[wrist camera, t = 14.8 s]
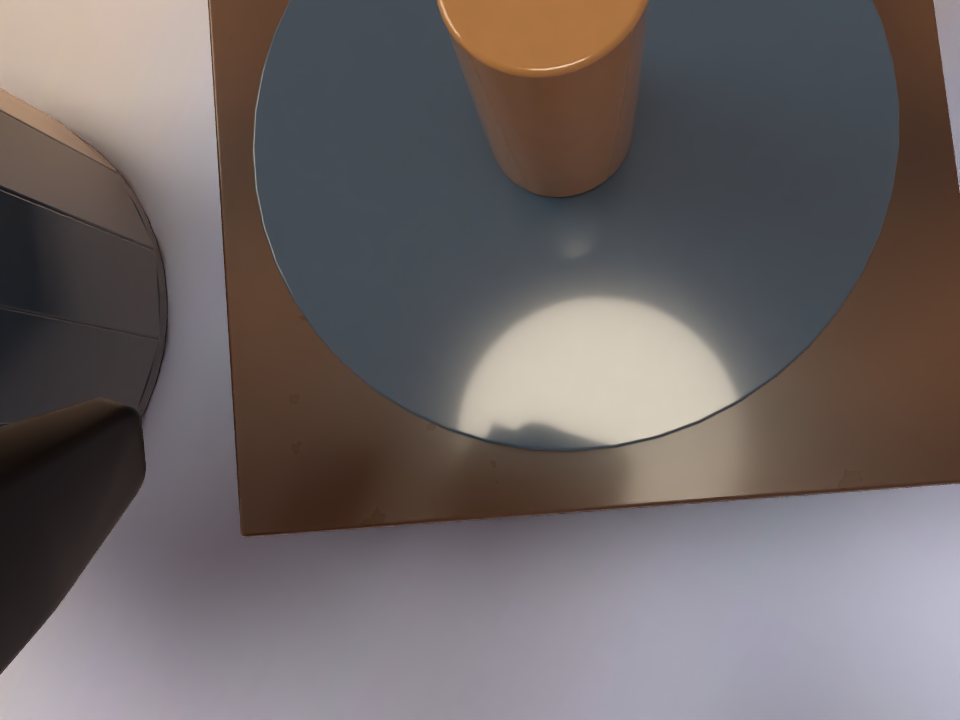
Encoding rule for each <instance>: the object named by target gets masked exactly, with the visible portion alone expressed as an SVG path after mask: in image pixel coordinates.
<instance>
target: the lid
mask: <svg viewBox="0 0 960 720" xmlns="http://www.w3.org/2000/svg"><path fill="white" fill-rule="evenodd" d="M252 151H253V166H254V180H255V191H256V196H257V201H258V206H259V211H260V216H261V221H262V226H263V229H264V232H265V235H266V238H267V241H268V244H269V247H270V250H271V253H272V256H273V259H274V261H275V264H276V267H277V269H278V271H279V273H280V275H281V277H282V279H283V281H284V283H285V285H286V287H287V289H288V291H289V293H290V295H291V297H292V299H293V301H294V302H295V304H296V305H297V306H298V308H299V309H300V311H301V312H302V314H303V315H304V317H305V318H306V320H307V321H308V323H309V324H310V326H311V327H312V329H313V330H314V331H315V333H316V334H317V335H318V336H319V338H320V339H321V340H322V341H323V342H324V343H325V344H326V345H327V346H328V348H329V349H330V350H331V351H332V352H333V353H334V354H335V355H336V357H337V358H338V359H339V360H340V361H341V362H342V363H343V364H344V365H345V366H346V367H347V368H349V369H350V370H351V371H352V372H353V373H354V374H356V375H357V376H358V377H359V378H360V379H362V380H363V381H364V382H365V383H366V384H367V385H369V386H370V387H371V388H372V389H373V390H375V391H376V392H378V393H379V394H381V395H382V396H384V397H386V398H387V399H389V400H390V401H392V402H393V403H395V404H396V405H398V406H399V407H401V408H403V409H404V410H406V411H407V412H409V413H411V414H413V415H415V416H418V417H420V418H422V419H424V420H426V421H428V422H430V423H432V424H435V425H437V426H439V427H441V428H443V429H445V430H448V431H451V432H454V433H457V434H461V435H464V436H467V437H470V438H473V439H476V440H480V441H483V442H486V443H491V444H497V445H503V446H508V447H514V448H520V449H525V450H539V451H563V452H576V451H587V450H599V449H610V448H618V447H622V446H627V445H631V444H636V443H640V442H645V441H649V440H654V439H658V438H661V437H664V436H667V435H669V434H672V433H675V432H678V431H680V430H683V429H686V428H689V427H691V426H694V425H697V424H699V423H702V422H704V421H706V420H707V419H709V418H711V417H713V416H715V415H717V414H719V413H721V412H723V411H725V410H727V409H729V408H730V407H732V406H734V405H736V404H738V403H740V402H742V401H743V400H744V399H746V398H747V397H749V396H750V395H752V394H753V393H754V392H756V391H757V390H759V389H760V388H761V387H763V386H764V385H766V384H767V383H769V382H770V381H771V380H773V379H774V378H776V377H777V376H778V375H779V374H780V373H781V372H783V371H784V370H785V369H786V368H787V367H788V366H789V365H790V364H791V363H792V362H793V361H795V360H796V359H797V358H798V357H799V356H800V355H801V354H802V353H803V352H804V351H805V350H806V349H808V348H809V347H810V346H811V344H812V343H813V342H814V341H815V340H816V338H817V337H818V336H819V335H820V334H821V332H822V331H823V330H824V329H825V328H826V326H827V325H828V324H829V323H830V322H831V320H832V319H833V318H834V317H835V316H836V314H837V313H838V312H839V310H840V309H841V307H842V306H843V304H844V302H845V301H846V299H847V298H848V296H849V294H850V293H851V291H852V290H853V288H854V286H855V285H856V283H857V282H858V280H859V278H860V277H861V275H862V274H863V271H864V269H865V267H866V265H867V262H868V260H869V258H870V256H871V254H872V251H873V249H874V247H875V245H876V242H877V240H878V238H879V236H880V233H881V230H882V227H883V223H884V220H885V216H886V213H887V210H888V206H889V203H890V199H891V196H892V192H893V187H894V180H895V173H896V166H897V160H898V153H899V99H898V91H897V84H896V77H895V70H894V62H893V59H892V55H891V52H890V48H889V45H888V41H887V38H886V34H885V31H884V27H883V24H882V20H881V18H880V16H879V14H878V12H877V9H876V7H875V5H874V3H873V0H289V3H288V5H287V7H286V9H285V11H284V13H283V16H282V18H281V20H280V22H279V24H278V26H277V29H276V31H275V33H274V36H273V39H272V42H271V45H270V48H269V51H268V54H267V57H266V60H265V64H264V67H263V70H262V74H261V79H260V85H259V90H258V95H257V101H256V106H255V114H254V131H253V148H252Z"/></svg>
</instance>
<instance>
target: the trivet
mask: <svg viewBox="0 0 960 720" xmlns="http://www.w3.org/2000/svg"><path fill="white" fill-rule="evenodd" d="M288 3H289V0H208V7H209V24H210V40H211V56H212V72H213V89H214V105H215V121H216V137H217V154H218V170H219V186H220V202H221V219H222V235H223V251H224V267H225V284H226V300H227V316H228V332H229V349H230V365H231V381H232V397H233V414H234V430H235V446H236V462H237V479H238V495H239V511H240V527H241V535H242V536H244V537H256V536H269V535H282V534H296V533H309V532H322V531H336V530H349V529H362V528H376V527H389V526H402V525H415V524H429V523H442V522H455V521H469V520H482V519H495V518H509V517H522V516H535V515H549V514H562V513H575V512H588V511H602V510H615V509H628V508H642V507H655V506H668V505H682V504H695V503H708V502H721V501H735V500H748V499H761V498H775V497H788V496H801V495H815V494H828V493H841V492H855V491H868V490H881V489H894V488H908V487H921V486H934V485H948V484H960V192H959V184H958V177H957V170H956V163H955V155H954V148H953V141H952V134H951V126H950V119H949V112H948V105H947V97H946V90H945V83H944V76H943V69H942V61H941V54H940V47H939V40H938V32H937V25H936V18H935V11H934V3H933V0H873V3H874V5H875V7H876V9H877V12H878V14H879V16H880V18H881V20H882V24H883V27H884V31H885V34H886V38H887V41H888V45H889V48H890V52H891V55H892V59H893V62H894V70H895V77H896V84H897V91H898V99H899V153H898V160H897V166H896V173H895V180H894V187H893V192H892V196H891V199H890V203H889V206H888V210H887V213H886V216H885V220H884V223H883V227H882V230H881V233H880V236H879V238H878V240H877V242H876V245H875V247H874V249H873V251H872V254H871V256H870V258H869V260H868V262H867V265H866V267H865V269H864V271H863V274H862V275H861V277H860V278H859V280H858V282H857V283H856V285H855V286H854V288H853V290H852V291H851V293H850V294H849V296H848V298H847V299H846V301H845V302H844V304H843V306H842V307H841V309H840V310H839V312H838V313H837V314H836V316H835V317H834V318H833V319H832V320H831V322H830V323H829V324H828V325H827V326H826V328H825V329H824V330H823V331H822V332H821V334H820V335H819V336H818V337H817V338H816V340H815V341H814V342H813V343H812V344H811V346H810V347H809V348H808V349H806V350H805V351H804V352H803V353H802V354H801V355H800V356H799V357H798V358H797V359H796V360H795V361H793V362H792V363H791V364H790V365H789V366H788V367H787V368H786V369H785V370H784V371H783V372H781V373H780V374H779V375H778V376H777V377H776V378H774V379H773V380H771V381H770V382H769V383H767V384H766V385H764V386H763V387H761V388H760V389H759V390H757V391H756V392H754V393H753V394H752V395H750V396H749V397H747V398H746V399H744V400H743V401H742V402H740V403H738V404H736V405H734V406H732V407H730V408H729V409H727V410H725V411H723V412H721V413H719V414H717V415H715V416H713V417H711V418H709V419H707V420H706V421H704V422H702V423H699V424H697V425H694V426H691V427H689V428H686V429H683V430H680V431H678V432H675V433H672V434H669V435H667V436H664V437H661V438H658V439H654V440H649V441H645V442H640V443H636V444H631V445H627V446H622V447H618V448H610V449H599V450H587V451H576V452H563V451H539V450H525V449H520V448H514V447H508V446H503V445H497V444H491V443H486V442H483V441H480V440H476V439H473V438H470V437H467V436H464V435H461V434H457V433H454V432H451V431H448V430H445V429H443V428H441V427H439V426H437V425H435V424H432V423H430V422H428V421H426V420H424V419H422V418H420V417H418V416H415V415H413V414H411V413H409V412H407V411H406V410H404V409H403V408H401V407H399V406H398V405H396V404H395V403H393V402H392V401H390V400H389V399H387V398H386V397H384V396H382V395H381V394H379V393H378V392H376V391H375V390H373V389H372V388H371V387H370V386H369V385H367V384H366V383H365V382H364V381H363V380H362V379H360V378H359V377H358V376H357V375H356V374H354V373H353V372H352V371H351V370H350V369H349V368H347V367H346V366H345V365H344V364H343V363H342V362H341V361H340V360H339V359H338V358H337V357H336V355H335V354H334V353H333V352H332V351H331V350H330V349H329V348H328V346H327V345H326V344H325V343H324V342H323V341H322V340H321V339H320V338H319V336H318V335H317V334H316V333H315V331H314V330H313V329H312V327H311V326H310V324H309V323H308V321H307V320H306V318H305V317H304V315H303V314H302V312H301V311H300V309H299V308H298V306H297V305H296V304H295V302H294V301H293V299H292V297H291V295H290V293H289V291H288V289H287V287H286V285H285V283H284V281H283V279H282V277H281V275H280V273H279V271H278V269H277V267H276V264H275V261H274V259H273V256H272V253H271V250H270V247H269V244H268V241H267V238H266V235H265V232H264V229H263V226H262V221H261V216H260V211H259V206H258V201H257V196H256V191H255V180H254V166H253V151H252V148H253V131H254V114H255V106H256V101H257V95H258V90H259V85H260V79H261V74H262V70H263V67H264V64H265V60H266V57H267V54H268V51H269V48H270V45H271V42H272V39H273V36H274V33H275V31H276V29H277V26H278V24H279V22H280V20H281V18H282V16H283V13H284V11H285V9H286V7H287V5H288Z"/></svg>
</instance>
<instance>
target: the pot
mask: <svg viewBox="0 0 960 720" xmlns="http://www.w3.org/2000/svg"><path fill="white" fill-rule="evenodd" d="M166 327H167V294H166V286H165V277H164V269H163V265H162V261H161V257H160V253H159V249H158V245H157V241H156V239H155V236H154V234H153V231H152V229H151V226H150V224H149V221H148V219H147V216H146V214H145V212H144V211H143V209H142V207H141V205H140V203H139V202H138V200H137V198H136V196H135V195H134V193H133V191H132V190H131V189H130V187H129V186H128V185H127V183H126V182H125V181H124V179H123V178H122V177H121V175H120V174H119V173H118V171H117V170H116V169H115V168H114V167H113V166H112V165H111V164H110V163H109V162H108V161H107V160H106V159H105V158H104V157H103V156H102V155H101V154H100V153H99V152H98V151H96V150H95V149H93V148H92V147H91V146H89V145H88V144H87V143H85V142H84V141H83V140H81V139H80V138H79V137H77V136H76V135H74V134H73V133H72V132H71V131H70V130H69V129H67V128H66V127H65V126H64V125H63V124H62V123H60V122H59V121H57V120H55V119H54V118H52V117H50V116H48V115H47V114H45V113H43V112H41V111H40V110H38V109H36V108H34V107H33V106H31V105H29V104H27V103H26V102H24V101H22V100H20V99H19V98H17V97H15V96H13V95H12V94H10V93H8V92H6V91H5V90H3V89H1V88H0V427H2V426H5V425H9V424H12V423H15V422H19V421H22V420H25V419H28V418H32V417H35V416H38V415H42V414H45V413H48V412H51V411H55V410H58V409H61V408H64V407H68V406H71V405H74V404H78V403H81V402H84V401H87V400H91V399H95V398H108V399H110V400H113V401H116V402H119V403H122V404H125V405H128V406H130V407H133V408H134V409H136V410H137V411H138V413H139V415H140V416H142V415H143V413H144V411H145V409H146V406H147V404H148V401H149V398H150V396H151V393H152V391H153V388H154V386H155V383H156V379H157V376H158V372H159V368H160V364H161V360H162V356H163V350H164V342H165V335H166Z"/></svg>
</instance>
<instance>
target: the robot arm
mask: <svg viewBox="0 0 960 720" xmlns="http://www.w3.org/2000/svg"><path fill="white" fill-rule="evenodd" d="M145 471H146V462H145V451H144V441H143V430H142V420H141V416H140V415H139V413H138V411H137V410H136V409H134V408H133V407H130V406H128V405H125V404H122V403H119V402H116V401H113V400H110V399H108V398H95V399H91V400H87V401H84V402H81V403H78V404H74V405H71V406H68V407H64V408H61V409H58V410H55V411H51V412H48V413H45V414H42V415H38V416H35V417H32V418H28V419H25V420H22V421H19V422H15V423H12V424H9V425H5V426H2V427H0V674H1V673H2V672H3V671H4V670H5V669H6V667H7V666H8V665H9V664H10V663H11V662H12V660H13V659H14V658H15V657H16V656H17V655H18V653H19V652H20V651H21V650H22V649H23V648H24V646H25V645H26V644H27V643H28V642H29V641H30V639H31V638H32V637H33V636H34V635H35V634H36V632H37V631H38V630H39V629H40V628H41V627H42V625H43V624H44V623H45V622H46V620H47V619H48V618H49V617H50V616H51V614H52V613H53V612H54V611H55V609H56V608H57V607H58V605H59V604H60V603H61V601H62V600H63V599H64V597H65V596H66V595H67V593H68V592H69V591H70V589H71V588H72V586H73V585H74V583H75V582H76V581H77V579H78V578H79V576H80V575H81V573H82V572H83V571H84V569H85V568H86V566H87V565H88V563H89V562H90V560H91V559H92V558H93V556H94V555H95V553H96V552H97V550H98V549H99V547H100V546H101V545H102V543H103V542H104V540H105V539H106V537H107V536H108V535H109V533H110V532H111V530H112V529H113V527H114V526H115V524H116V523H117V522H118V520H119V519H120V517H121V516H122V514H123V513H124V511H125V510H126V509H127V507H128V506H129V504H130V503H131V501H132V500H133V499H134V497H135V496H136V494H137V493H138V491H139V489H140V487H141V485H142V483H143V480H144V477H145Z"/></svg>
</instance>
